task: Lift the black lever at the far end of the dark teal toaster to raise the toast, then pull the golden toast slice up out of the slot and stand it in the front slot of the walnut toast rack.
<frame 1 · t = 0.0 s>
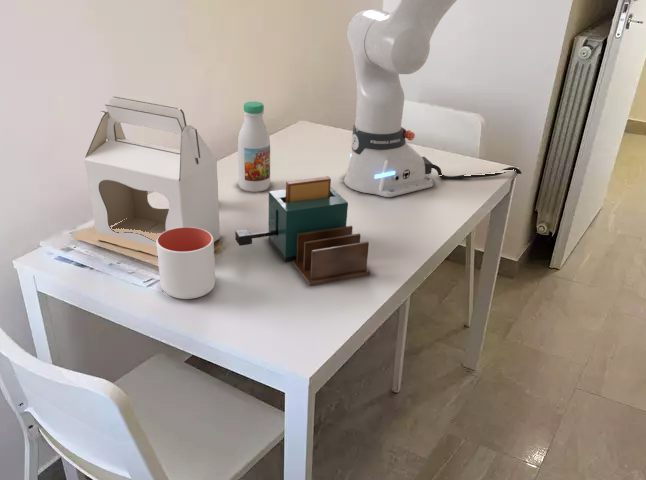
toast rack: (330, 269, 130), on the table
milk bottle: (254, 187, 163), on the table
cup: (188, 288, 123), on the table
gable box: (159, 240, 138), on the table
toaster: (305, 246, 138), on the table
carriage: (284, 231, 134), point 4 cm above the table, slide at 0.0 cm, touching toast
toast: (306, 226, 135), point 4 cm above the table, touching carriage
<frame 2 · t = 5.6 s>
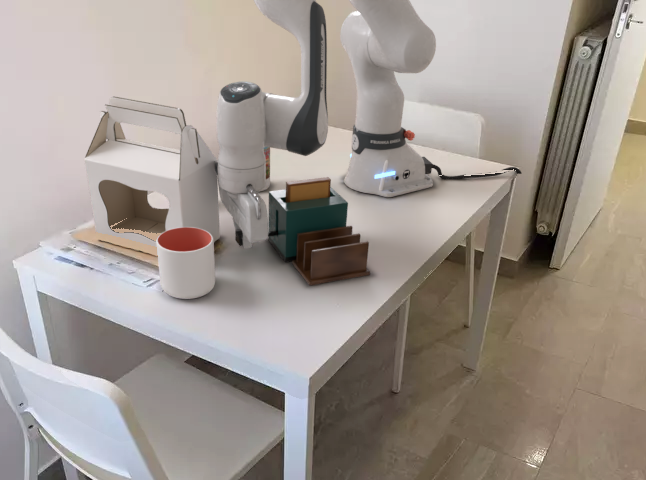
hand: (243, 241, 132), 3 cm above the table, tool pointing down, fingers closed on carriage, 3 cm apart
gable box: (159, 240, 138), on the table, touching arm
carriage: (284, 231, 134), point 4 cm above the table, slide at -0.1 cm, touching gripper, toast
everything else where it was.
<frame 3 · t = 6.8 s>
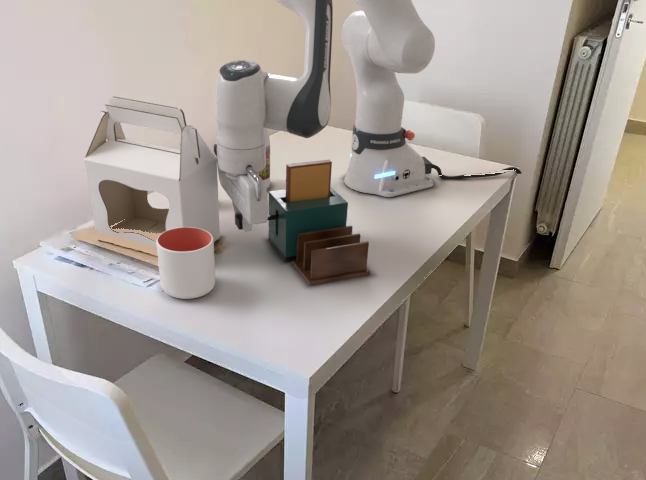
hand: (243, 225, 130), 7 cm above the table, tool pointing down, fingers closed on carriage, 3 cm apart
gable box: (159, 240, 138), on the table
carriage: (284, 215, 132), point 8 cm above the table, slide at 3.5 cm, touching gripper, toast
toast: (307, 211, 133), point 8 cm above the table, touching carriage
everything else where it was.
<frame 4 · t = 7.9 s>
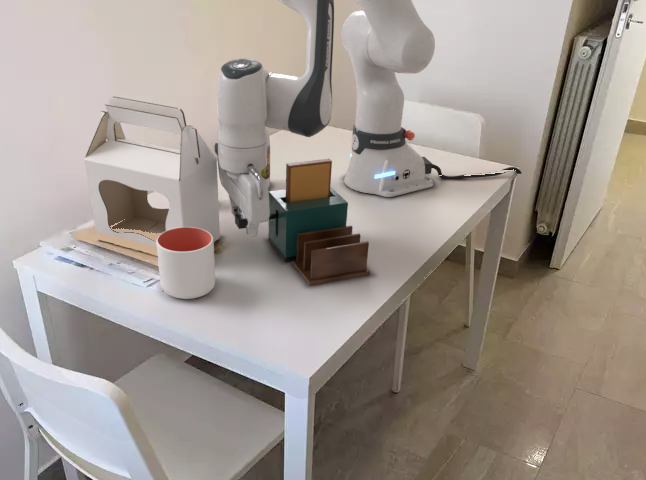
hand: (244, 224, 129), 7 cm above the table, tool pointing down, fingers open, 8 cm apart
carriage: (284, 214, 132), point 8 cm above the table, slide at 3.6 cm, touching toast
everything else where it was.
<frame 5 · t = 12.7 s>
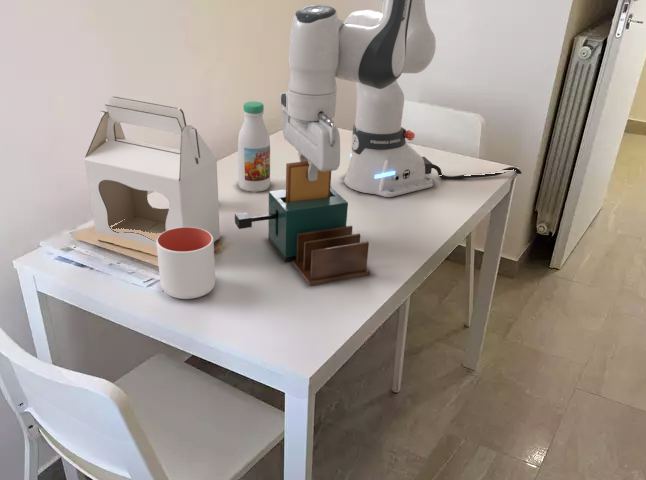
hand: (308, 177, 129), 15 cm above the table, tool pointing down, fingers closed on toast, 1 cm apart
carriage: (284, 214, 132), point 8 cm above the table, slide at 3.6 cm
toast: (307, 210, 133), point 8 cm above the table, touching gripper
everything else where it was.
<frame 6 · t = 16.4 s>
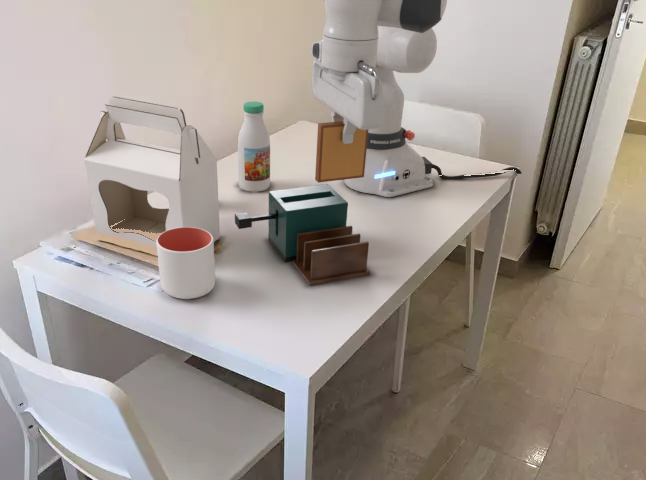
hand: (342, 139, 114), 26 cm above the table, tool pointing down, fingers closed on toast
toast: (339, 178, 118), point 19 cm above the table, touching gripper
everything else where it was.
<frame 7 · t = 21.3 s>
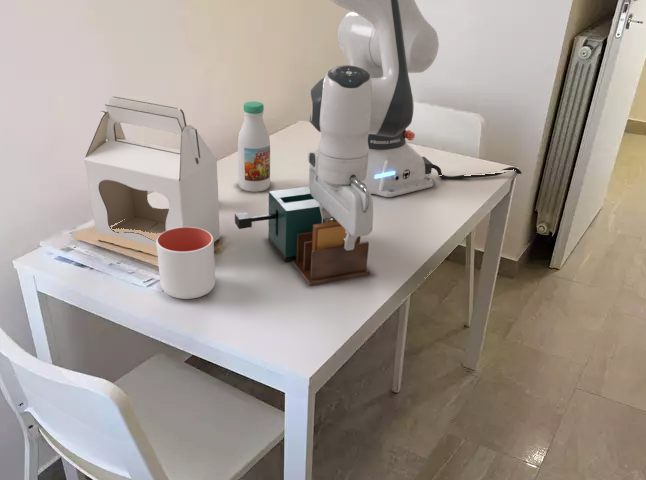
hand: (337, 237, 125), 8 cm above the table, tool pointing down, fingers open, 8 cm apart
toast: (333, 270, 128), point 1 cm above the table, touching toast rack
everything else where it was.
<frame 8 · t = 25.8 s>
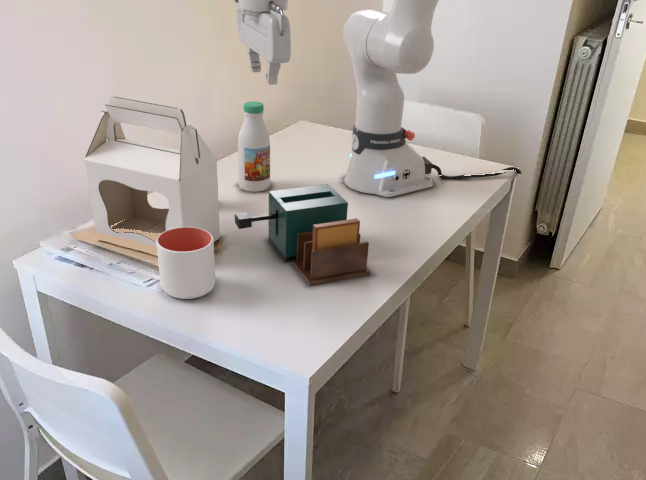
hand: (263, 77, 128), 31 cm above the table, tool pointing down, fingers open, 8 cm apart
nothing on the table moved.
at the end: carriage slide at 3.6 cm; toast 0.3 cm from the target spot on the toast rack, point 0.8 cm above the toast rack's base; toast tilted 0° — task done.
